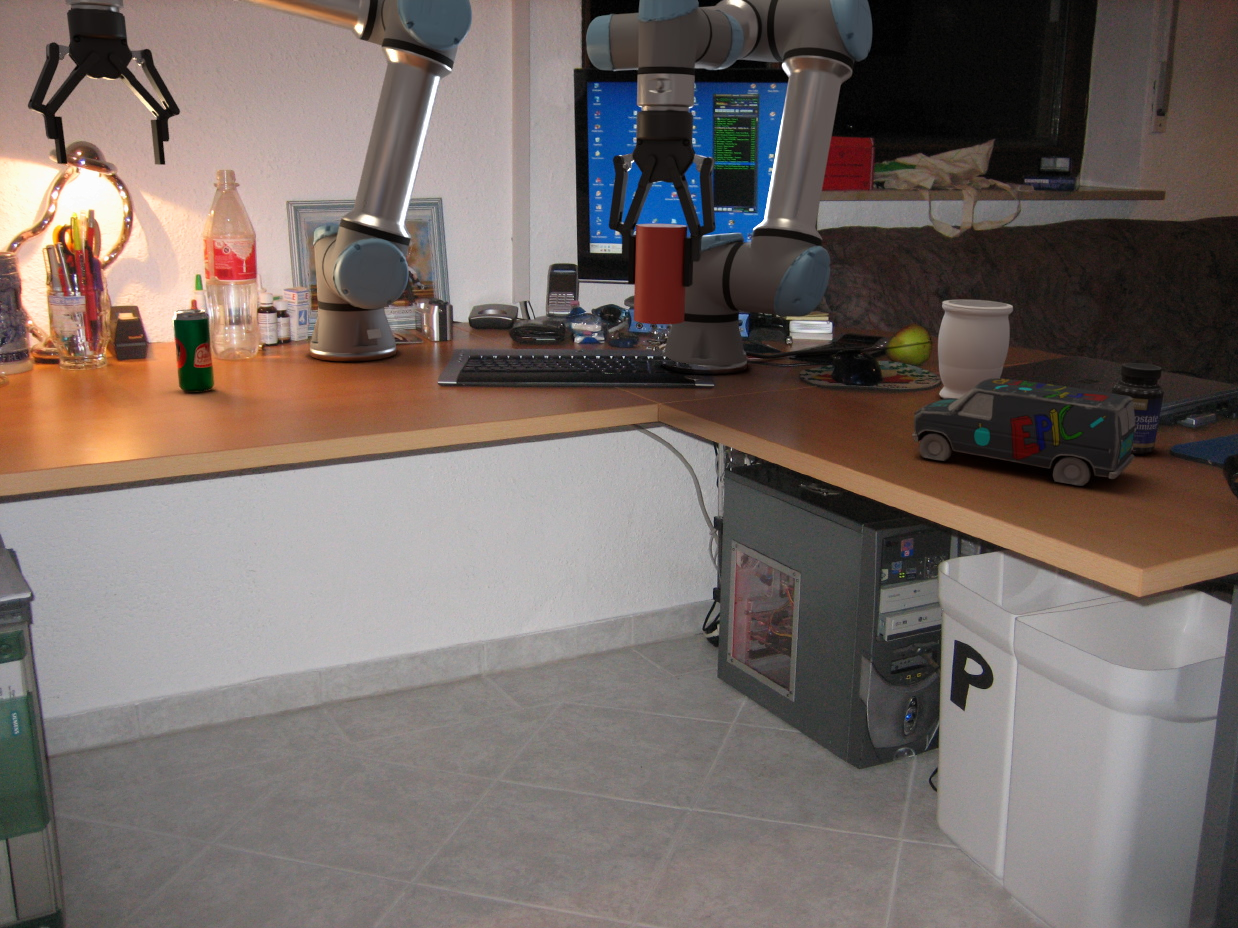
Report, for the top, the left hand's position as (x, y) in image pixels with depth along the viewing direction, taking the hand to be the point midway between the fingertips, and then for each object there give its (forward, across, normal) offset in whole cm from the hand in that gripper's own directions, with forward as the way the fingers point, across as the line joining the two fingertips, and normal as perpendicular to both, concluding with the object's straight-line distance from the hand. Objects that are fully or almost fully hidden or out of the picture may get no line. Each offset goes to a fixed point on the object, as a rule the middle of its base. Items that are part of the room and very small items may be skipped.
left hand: (112, 164), depth 159 cm
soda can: (+33, +6, -10) cm, 35 cm away
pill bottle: (+33, +94, -112) cm, 150 cm away
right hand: (+14, +54, -63) cm, 84 cm away
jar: (+33, +102, -82) cm, 135 cm away
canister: (+19, +54, -63) cm, 85 cm away
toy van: (+33, +75, -107) cm, 135 cm away
